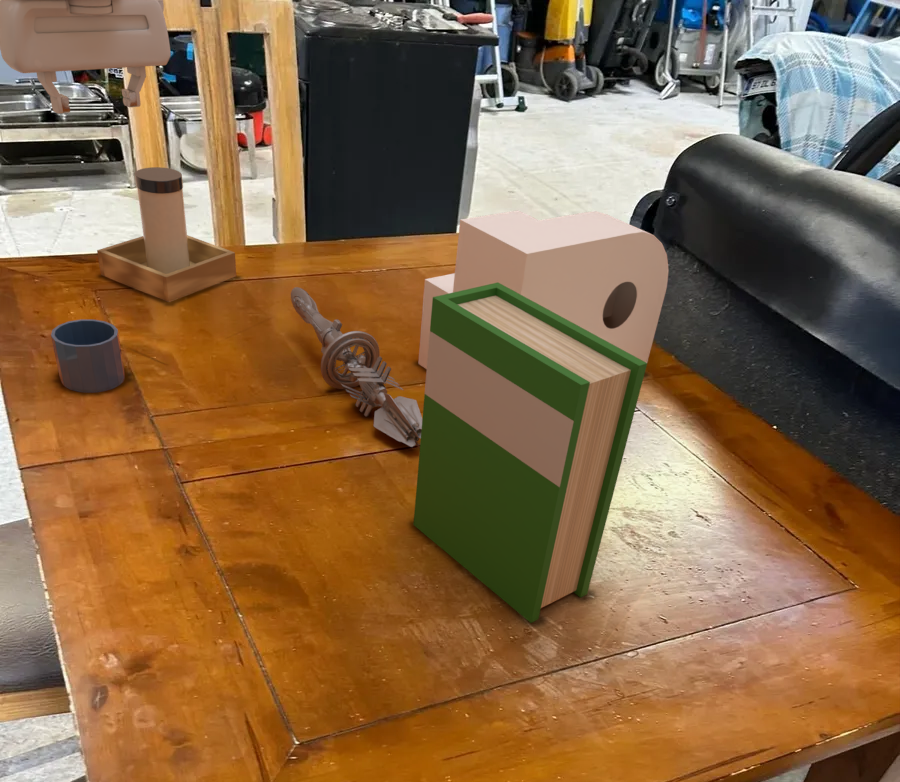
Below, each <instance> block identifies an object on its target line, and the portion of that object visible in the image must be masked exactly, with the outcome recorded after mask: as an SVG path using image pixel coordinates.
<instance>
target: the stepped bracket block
mask: <svg viewBox="0 0 900 782" xmlns="http://www.w3.org/2000/svg"><path fill="white" fill-rule="evenodd" d="M456 247H457V248H456V259H455V267H454V272H453V273H448V274H445V275H439V276H434V277H429V278H424V285H423V298H422V299H423V300H422V312H421V324H420V325H421V326H420V338H419V350H418V363H417V364H418V365H419V366H421V367H422V368H424V369H425V370H427V359H428V348H429V336H430V324H431V312H432V301H433V297H436V296H440V295H444V294H449V293H453V292H458V291H462V290H467V289H471V288H475V287H480V286H484V285H489V284H493V283H497V282H498V283H500V284H502V285H504V286H506V287H507V288H509V289H511V290H513V291H515V292H517V293H519V294H520V295H522V296H524V297H526V298H528V299H530V300H531V301H533V302H535V303H537V304H539V305H541V306H543V307H544V308H546V309H548V310H550V311H552V312H554V313H555V314H557V315H559V316H561V317H563V318H565V319H567V320H568V321H570V322H572V323H574V324H576V325H578V326H579V327H581V328H583V329H585V330H587V331H589V332H591V333H592V334H594V335H596V336H598V337H600V338H602V339H603V340H605V341H607V342H609V343H611V344H613V345H615V346H616V347H618V348H620V349H622V350H624V351H626V352H627V353H629V354H631V355H633V356H635V357H637V358H639V359H640V360H642V361H644V362H646V363H647V364H648V362H649V357H650V354H651V350H652V347H653V342H654V339H655V336H656V335H655V334H656V331H657V327H658V323H659V319H660V315H661V312H662V308H663V303H664V300H665V297H666V292H667V288H668V280H669V271H670V270H669V261H668V254H667V252H666V250H665V246H664V245H663V243H662V242H661V240H659V238H657V237H656V236H655V235H654V234H652V233H650V232H649V231H645V230H644V229H640V228H639V227H636V226H634V225H632V224H629V223H628V222H625V221H623V220H621V219H618V218H616V217H614V216H611V215H610V214H606V213H603V212H600V211H597V210H593V211H586V212H579V213H573V214H567V215H562V216H556V217H550V218H544V219H538V218H535V217H533V216H531V215H529V214H527V213H525V212H523V211H520V210H519V209H518V210H511V211H505V212H498V213H492V214H487V215H480V216H473V217H467V218H461V219H459V228H458V238H457V246H456Z"/></svg>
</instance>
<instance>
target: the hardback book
mask: <svg viewBox="0 0 900 782" xmlns="http://www.w3.org/2000/svg"><path fill="white" fill-rule="evenodd" d="M647 366H648V362H647V363H646V362H644V361H642V360H640V359H639V358H637V357H635V356H633V355H631V354H629V353H627V352H626V351H624V350H622V349H620V348H618V347H616V346H615V345H613V344H611V343H609V342H607V341H605V340H603V339H602V338H600V337H598V336H596V335H594V334H592V333H591V332H589V331H587V330H585V329H583V328H581V327H579V326H578V325H576V324H574V323H572V322H570V321H568V320H567V319H565V318H563V317H561V316H559V315H557V314H555V313H554V312H552V311H550V310H548V309H546V308H544V307H543V306H541V305H539V304H537V303H535V302H533V301H531V300H530V299H528V298H526V297H524V296H522V295H520V294H519V293H517V292H515V291H513V290H511V289H509V288H507V287H506V286H504V285H502V284H500V283H498V282H497V283H493V284H489V285H484V286H480V287H475V288H471V289H467V290H462V291H458V292H453V293H449V294H444V295H440V296H436V297H433V301H432V312H431V324H430V336H429V348H428V359H427V369H426V373H425V385H424V396H423V408H422V430H421V438H420V443H419V446H420V448H419V455H418V467H417V478H416V488H415V489H416V490H415V500H414V502H415V503H414V511H413V512H414V514H413V524H412V525H413V526H414V527H415V528H417V529H418V530H419V531H420V532H421V533H422V534H424V535H425V536H426V537H427V538H428V539H430V540H431V541H432V542H433V543H434V544H435V545H436V546H438V547H439V548H440V549H441V550H443V551H444V552H445V553H446V554H448V555H449V556H450V557H451V558H452V559H453V560H455V561H456V562H457V563H458V564H459V565H461V566H462V567H463V568H464V569H466V570H467V572H469V573H470V574H471V575H472V576H474V577H475V578H476V579H477V580H479V581H480V582H481V583H482V584H483V585H485V586H486V587H487V588H488V589H489V590H491V591H492V592H493V593H494V594H495V595H497V596H498V597H499V598H500V599H501V600H503V601H504V602H505V603H506V604H507V605H508V606H510V607H511V608H512V609H513V610H515V611H516V612H517V613H518V614H519V615H520V616H521V617H522V618H524V619H525V620H526V621H527V622H529V623H530V624H533V623H534V622H536V621H538V620H539V618H540V613H541V609H542V608H544V607H546V606H548V605H551V604H552V603H554V602H556V601H559V600H560V599H563V598H564V597H567V596H568V595H570V594H572V593H573V594H575V595H576V596H577V597H578V598H583V597H585V596H587V595H588V592H589V589H590V585H591V581H592V578H593V574H594V570H595V565H596V562H597V558H598V555H599V550H600V548H601V547H600V546H601V543H602V538H603V535H604V530H605V528H606V524H607V520H608V517H609V516H608V515H609V511H610V509H611V505H612V500H613V497H614V493H615V490H616V489H615V488H616V484H617V482H618V477H619V473H620V470H621V466H622V461H623V459H624V454H625V451H626V447H627V443H628V438H629V435H630V431H631V427H632V423H633V420H634V416H635V412H636V408H637V404H638V400H639V396H640V392H641V389H642V385H643V381H644V377H645V374H646V371H647V370H646V369H647Z"/></svg>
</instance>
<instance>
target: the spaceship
mask: <svg viewBox="0 0 900 782" xmlns="http://www.w3.org/2000/svg"><path fill="white" fill-rule="evenodd" d="M290 300H291V304H292V306H293V309H294V310H295V312H296V313H297V314H298V315H299V317H300V318H301V319H302V320H303V321H304V323H306V324H310V325H311V326H312V328H313V330H314V332H315V334H316V337H317V340H318V341H319V342H320V343H321V349H320V350H321V354H322V357H321V362H320V373H321V376H322V378H323V380H324V382H325V383H326V384H327V385H328V386H330V387H332V388H333V389H337V390H345V391H346V392H347V393H349V396H350V397H351V398H353V399H355V400H356V403H355V407H356V408H359V411H360V413H363V415H364V417H366V418H367V417H369V415H370V414H371V412H372V410H373V409H374V408H375V407H380V408H378V409H377V410H375V411H374V414H373V415H374V417H373V428H375V429H377V430H378V431H380V432H382V433H383V434H386V436H388V437H390V438H392V439H394V440H395V441H397V442H399V443H403V444H405V445H406V446H408V447H410V448H413V447H415V446H416V447H417V448H418V449H420V443H419V440H420V439H421V430H422V418H423V415H422V413H421V410H420V408H419V404H418V401H417V399H414V398H409V397H404V396H401V395H399V396H397V397H395V398H393V397H392V396H391V395H390V394H389V393H388V390H387V387H386V385H387V384H388V385H390V386H393V387H394V388H397V389H399V390H401V391H404V389H403V387H401V386H400V383H398V382H396V379H395V378H394V377H392V376H390V373H391V371H392V368H391V366H387V364H388V363H387V362H386V361H382V360H383V357H382V356H381V355H380V354H381V353H380V346H379V344H378V341H377V340H376V338H375V337H374V336H373V335H371V334H370V333H368V332H366V331H361V330H352V331H347V332H345V333H343V332H342V331H341V329H342V327H343V323H342V322H341V320H339V319H334V320H333V321H331V320H329V319H327V318H325V317H324V316H323V315H322V314H321V313H320V311H319V308H318V306H317V303H316V301H315V300H314V298H312V297H311V295H310V294H309V292H307V291H306V290H305V289H304V288H301V287H300V286H299V287H298V286H295V287H293V288H292V289H291V291H290ZM352 347H354V348H353V349H352V350H353V351H352V350H351V348H352ZM359 347H360V348H362V349H363V351H362V352H361V353H359V354H357V353H358V350H359ZM337 361H338V362H342V364H340V365H339V366H337V367H336V365H337ZM385 368H386V369H385ZM342 370H344V371H343V372H342V373H340V371H342ZM357 387H360V389H361V390H360V391H359V390H357V389H356V388H357ZM354 388H355V389H354Z"/></svg>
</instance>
